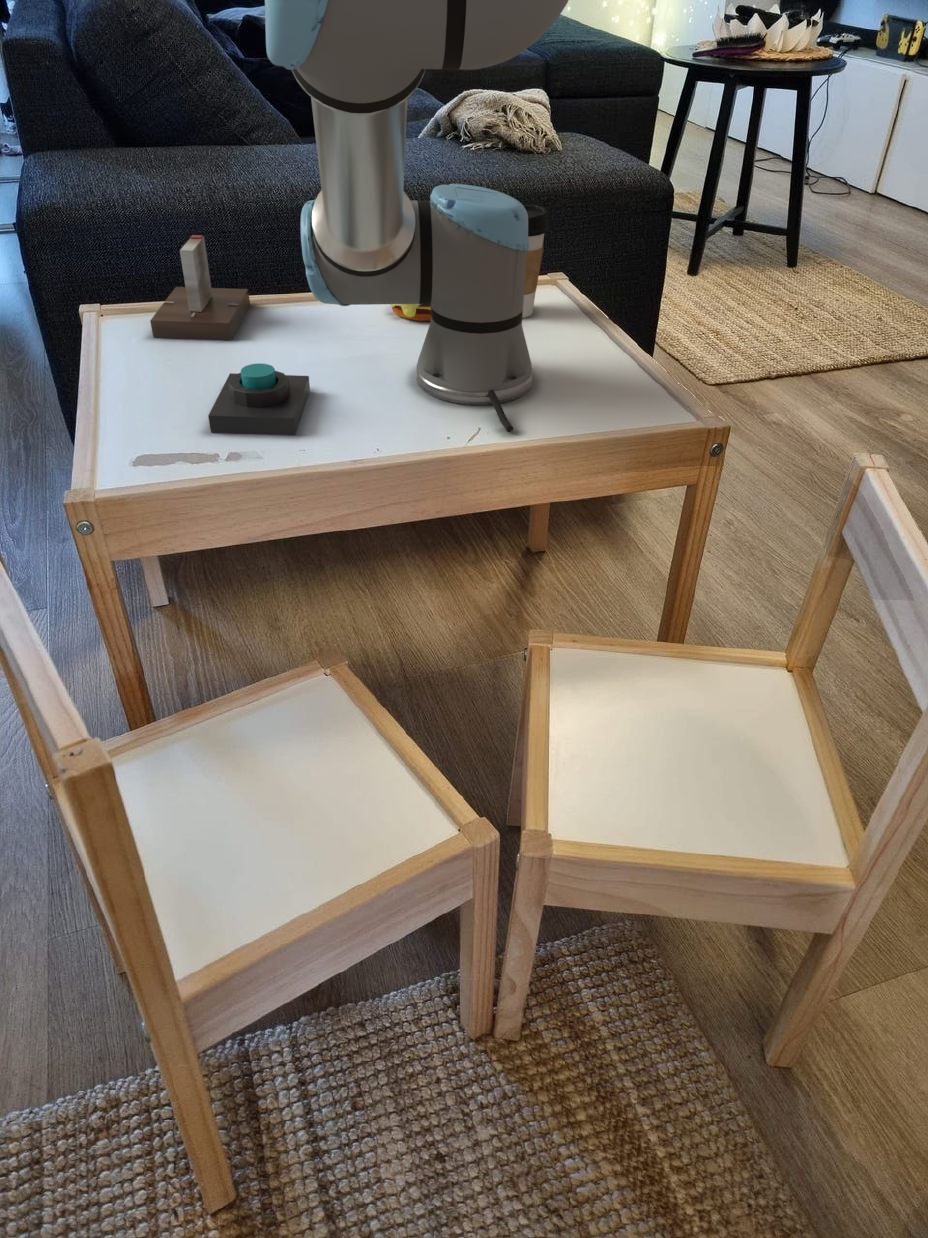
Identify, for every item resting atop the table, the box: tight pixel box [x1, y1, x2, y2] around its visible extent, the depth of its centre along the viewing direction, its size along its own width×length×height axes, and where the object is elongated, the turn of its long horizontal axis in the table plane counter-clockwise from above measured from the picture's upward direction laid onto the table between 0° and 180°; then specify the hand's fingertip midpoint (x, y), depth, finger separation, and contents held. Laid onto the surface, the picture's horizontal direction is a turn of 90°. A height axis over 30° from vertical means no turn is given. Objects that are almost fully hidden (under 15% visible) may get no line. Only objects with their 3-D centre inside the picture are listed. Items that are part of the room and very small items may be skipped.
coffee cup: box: [522, 204, 549, 319], centre depth 138 cm, size 8×8×15 cm
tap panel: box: [149, 286, 251, 341], centre depth 135 cm, size 14×11×3 cm
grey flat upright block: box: [179, 234, 212, 312], centre depth 131 cm, size 6×2×9 cm, turn 179°
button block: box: [208, 370, 311, 436], centre depth 112 cm, size 12×10×4 cm
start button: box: [240, 362, 276, 389], centre depth 110 cm, size 4×4×2 cm
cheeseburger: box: [390, 304, 431, 322], centre depth 138 cm, size 10×11×10 cm
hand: (364, 149), depth 118 cm, fingers closed
